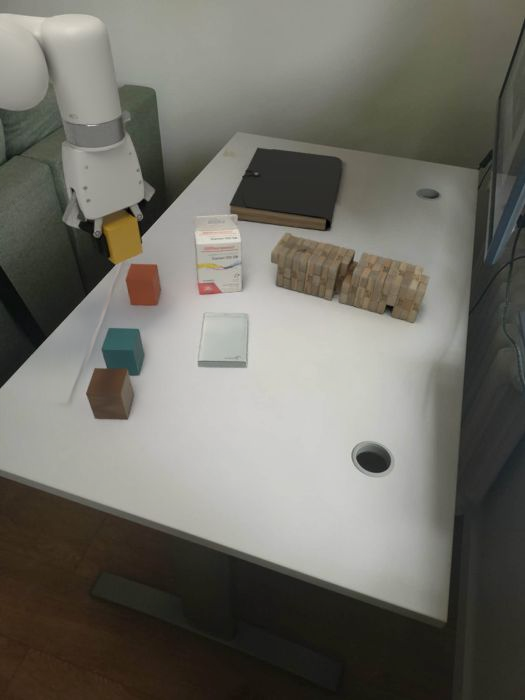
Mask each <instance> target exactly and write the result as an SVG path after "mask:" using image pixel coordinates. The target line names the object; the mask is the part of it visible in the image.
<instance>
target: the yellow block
mask: <svg viewBox="0 0 525 700" xmlns="http://www.w3.org/2000/svg"><path fill="white" fill-rule="evenodd" d="M102 233H103V234H104V235H105V236H106V239H107V243H108V247H109V252H110V258H108V259H107V260H109V261H110V262H111V263H112V264H114V265H115V266H116V265H119V264H120V263H124V262H125V261H128V260H130V259H132V258H134V257H137V256H139V255H141V254H143V247H142V244H141V240H140V234H139V228H138V222H137V219H136V218H135V217H133V216H132V215H130V214H129V213H128V212H126V210H125V209H121V210H119V211H116V212H114V213H111V214H108V215H105V216H103V219H102Z"/></svg>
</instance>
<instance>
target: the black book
mask: <svg viewBox="0 0 525 700" xmlns="http://www.w3.org/2000/svg"><path fill="white" fill-rule="evenodd" d="M342 166H343V160H342V159H341V158H340V157H338V156H333V155H324V154H316V153H309V152H301V151H292V150H284V149H277V148H264V147H256V150H255V151H254V154H253V156H252V158H251V160H250V162H249V164H248V166H247V168H246V169H245V171H244V173H243V175H242V178H241V181H240V182H239V185H238V186H237V188H236V190H235V192H234V194H233V197H232V198H231V200H230V202H229V208H230V210H229V212H230V214H229V215H232V214H236V215H237V216H238V220H237V221H245V222H253V223H260V224H268V225H276V226H283V227H289V228H290V227H291V228H299V229H306V230H313V231H320V232H324V231H327V230H329V229H330V228H331V227H332V221H333V216H334V211H335V205H336V199H337V194H338V189H339V183H340V178H341V172H342Z"/></svg>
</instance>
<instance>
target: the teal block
mask: <svg viewBox="0 0 525 700" xmlns="http://www.w3.org/2000/svg"><path fill="white" fill-rule="evenodd" d="M100 350H101V353H102V356H103V359H104V360H103V361H104V363H105V367H106V368H109V369H128V372H129V376H140V373H141V368H142V365H143V361H144V358H145V351H144V345H143V340H142V336H141V332H140V328H131V327H129V328H125V327H108V329H107V332H106V335H105V338H104V340H103V344H102V346H101V349H100Z"/></svg>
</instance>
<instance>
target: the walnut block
mask: <svg viewBox="0 0 525 700" xmlns="http://www.w3.org/2000/svg"><path fill="white" fill-rule="evenodd" d="M85 395H86V397H87V400H88V403H89V406H90V409H91V412H92V415H93V417H94V419H95V420H98V419H99V420H128V419H129V415H130V412H131V408H132V404H133V400H134V397H135V393H134V387H133V385H132V380H131V375H129V372H128V369H109V368H107V367H106V368H105V367H102V368H101V367H94V369H93V372H92V375H91V377H90V380H89V383H88V387H87V389H86V393H85Z"/></svg>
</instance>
